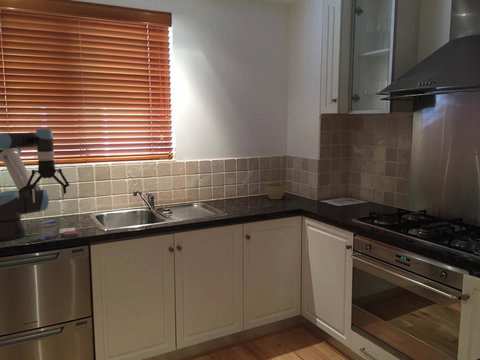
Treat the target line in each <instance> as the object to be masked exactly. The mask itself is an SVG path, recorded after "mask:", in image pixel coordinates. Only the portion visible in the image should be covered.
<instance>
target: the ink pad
mask: <svg viewBox="0 0 480 360" xmlns="http://www.w3.org/2000/svg"><path fill="white" fill-rule="evenodd" d="M73 237H74V238H75V237H79V230H78V229H77V230H76V231H66V232H64V234H63V238H73Z"/></svg>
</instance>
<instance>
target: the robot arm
mask: <svg viewBox="0 0 480 360" xmlns="http://www.w3.org/2000/svg"><path fill="white" fill-rule="evenodd" d="M23 148H26V149H27V148H36V150H37V151H36V152H37V153H36V155H37V159H38V160H37V167H38V169H32V170H31V175H30V173H29V172H28V169H27V168H26V166H25V164H24V162H23V160H22V158H21V157H20V156H21V153H22V150H23ZM54 159H55V151H54V135H53V130H52V129H51V128H38V129H36V131H33V132H31V131H29V132H1V133H0V162H2V163H3V164H4V166H5V167H6V169H7V171H8V173H9V175H10V177H11V179H12V181H13V183H14V185H15V187H16V190H15V189H14V190H8V191H7V190H6V191H2V192H0V241H10V240H12V241H13V240H16V239H17V240H18V239H20V238H24V237H25V236H26V235H27V233H26V231H27V230H26V229H25V227H24V224H23V222H22V220H21V216H22V215H28V214H33V213H40V212H43V211H46V210H47V209H48V207H49V204H50V197H49V193H48V191H47V189H45V188H43V189H41V187H40V186H39V185H38V183H39V182H40V180H42V179H51V178H53V179H54V180H55V181H56V182H57V183H59V185H60V186H62V187H61V196H62V197H61V199H62V201H65V194H67V187H69V186H70V183H69V182H68V179H67V178H66V176H65V175H64V173H63V171H62V168H61V167H60V168H56V165H55V164H56V163H55V160H54ZM56 173H58V174H59V175H60V177H61V178H62V180H63V181H64V183H63V181H62V180H61V179H59V177H57V176H56V175H55V174H56ZM36 174H39V176H38V177H37V178H36V180H34V181H33V178H34V176H35V175H36Z"/></svg>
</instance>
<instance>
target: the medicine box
mask: <svg viewBox="0 0 480 360" xmlns="http://www.w3.org/2000/svg"><path fill="white" fill-rule="evenodd" d="M37 231H38V232H37V233H38V239H39V240H43V241H46V240H50V239H54V238H57V237H58V227H57V220H54V219H49V220H46V221H45V220H44V221H40V222H37Z"/></svg>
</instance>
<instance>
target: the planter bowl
mask: <svg viewBox="0 0 480 360" xmlns="http://www.w3.org/2000/svg"><path fill="white" fill-rule="evenodd" d="M264 187H265V188H264V189H265V192H266V194H267V196H268V198H269V199H270V200H281V199H283V196H284V195H285V193H286V189H287V184H286V183H281V182H277V183H276V182H271V183H266V184H264Z"/></svg>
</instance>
